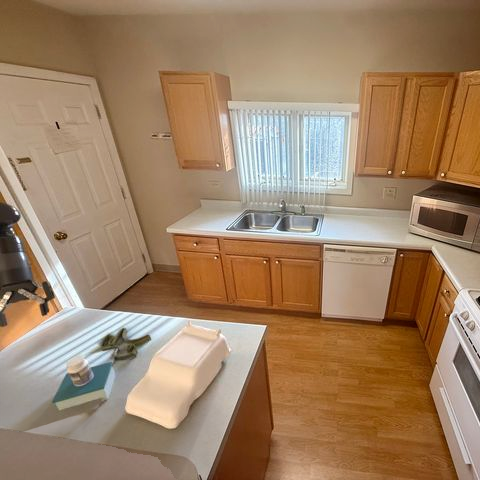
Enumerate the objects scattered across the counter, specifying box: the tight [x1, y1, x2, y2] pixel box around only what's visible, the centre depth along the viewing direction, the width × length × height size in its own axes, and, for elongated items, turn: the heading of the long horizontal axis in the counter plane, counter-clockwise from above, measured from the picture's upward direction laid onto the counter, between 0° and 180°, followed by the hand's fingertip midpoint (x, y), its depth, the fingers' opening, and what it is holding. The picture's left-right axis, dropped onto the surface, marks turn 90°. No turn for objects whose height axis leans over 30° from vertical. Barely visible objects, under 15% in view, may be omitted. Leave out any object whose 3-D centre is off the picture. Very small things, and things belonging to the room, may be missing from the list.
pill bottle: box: [65, 354, 94, 386], centre depth 78 cm, size 5×5×8 cm
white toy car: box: [124, 320, 232, 430], centre depth 85 cm, size 19×30×13 cm, turn 165°
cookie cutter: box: [99, 327, 152, 361], centre depth 99 cm, size 18×12×2 cm, turn 75°
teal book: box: [51, 361, 117, 411], centre depth 80 cm, size 12×10×6 cm
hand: (25, 320), depth 77 cm, fingers open, 8 cm apart
